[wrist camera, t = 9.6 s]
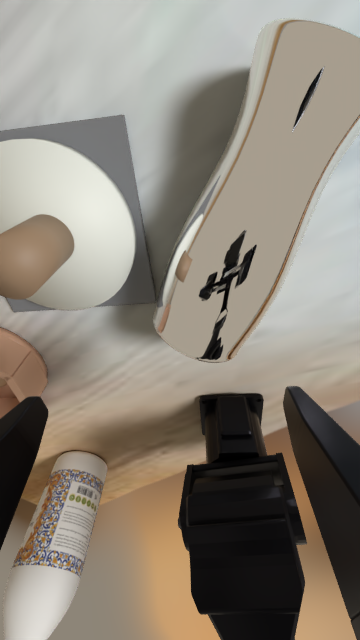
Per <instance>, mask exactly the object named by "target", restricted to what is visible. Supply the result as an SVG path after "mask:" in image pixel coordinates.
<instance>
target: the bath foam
mask: <svg viewBox="0 0 360 640" xmlns="http://www.w3.org/2000/svg"><path fill="white" fill-rule="evenodd" d="M106 474H107V465H106V463H105V462H104V461H103V460H102V459H101V458H100V457H98V456H96V455H94V454H91V453H88V452H83V451H71V452H66V453H64V454H62V455H61V456H59V457H58V459H57V460H56V463H55V465H54V467H53V470H52V472H51V475H50V477H49V479H48V481H47V484H46V486H45V489H44V491H43V494H42V496H41V498H40V501H39V503H38V506H37V509H36V511H35V513H34V515H33V518H32V520H31V523H30V525H29V528H28V530H27V532H26V535H25V537H24V539H23V542H22V545H21V547H20V549H19V552H18V554H17V557H16V559H15V561H14V564H13V566H12V568H11V572H10V575H9V577H8V581H7V585H6V589H5V594H4V600H3V626H4V640H47V639H48V637H49V636H50V635H51V633H52V632H53V631H54V629H55V628H56V626H57V625H58V624H59V622H60V621H61V619H62V618H63V616H64V615H65V613H66V611H67V610H68V608H69V606H70V604H71V602H72V600H73V598H74V595H75V593H76V590H77V588H78V584H79V581H80V578H81V574H82V570H83V566H84V562H85V558H86V554H87V550H88V546H89V542H90V538H91V534H92V530H93V526H94V522H95V518H96V514H97V510H98V506H99V502H100V498H101V494H102V490H103V486H104V482H105V478H106Z"/></svg>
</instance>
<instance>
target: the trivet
mask: <svg viewBox="0 0 360 640" xmlns="http://www.w3.org/2000/svg"><path fill="white" fill-rule="evenodd" d="M33 138H36V139H45V140H50V141H54V142H58V143H61V144H64V145H66V146H69V147H71V148H73V149H75V150H77V151H79V152H80V153H82V154H84V155H85V156H87V157H88V158H90V159H91V160H92V161H94V162H95V163H96V164H97V165H98V166H99V167H101V168H102V169H103V170H104V171H105V172H106V173H107V174H108V175H109V177H110V178H111V179H112V180H113V181H114V182H115V184H116V185H117V187H118V188H119V190H120V191H121V193H122V194H123V196H124V198H125V200H126V202H127V204H128V206H129V209H130V211H131V214H132V217H133V221H134V224H135V230H136V254H135V259H134V262H133V266H132V268H131V270H130V273H129V275H128V277H127V279H126V281H125V283H124V284H123V286H122V287H121V288H120V290H119V291H118V292H117V293H116V294H115V295H114V296H112V297H111V298H110V299H109V300H107V301H105V302H103V303H102V304H99V305H97V306H94V307H99V306H114V305H129V304H143V303H156V295H155V289H154V283H153V278H152V272H151V266H150V260H149V255H148V249H147V243H146V237H145V232H144V226H143V220H142V215H141V209H140V203H139V197H138V192H137V186H136V180H135V174H134V169H133V163H132V157H131V151H130V146H129V140H128V134H127V128H126V123H125V117H124V115H118V116H110V117H103V118H95V119H88V120H80V121H72V122H65V123H57V124H50V125H42V126H34V127H27V128H19V129H12V130H4V131H0V142H2V141H7V140H12V139H33ZM7 300H8V302H9V304H10V306H11V308H12V310H13V312H25V311H40V310H55V309H54V308H49V307H45V306H42V305H39V304H36V303H34V302H32V301H29V300H27V299H21V300H16V299H10V298H7Z"/></svg>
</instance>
